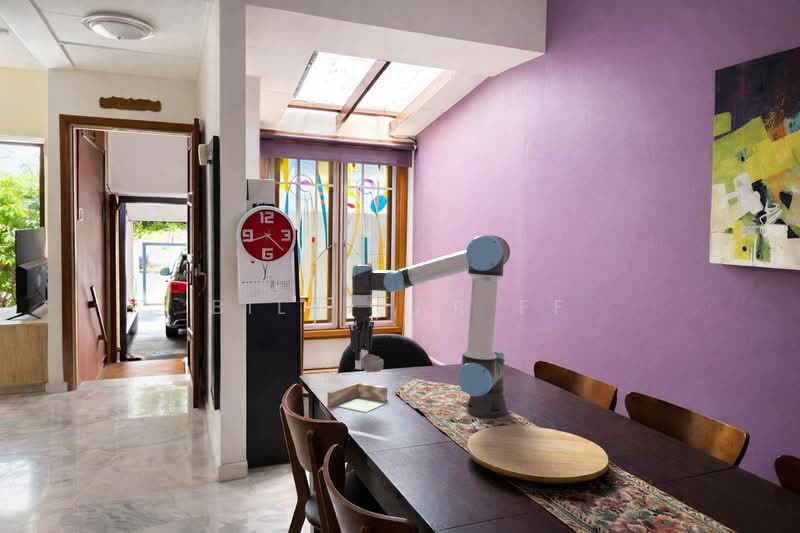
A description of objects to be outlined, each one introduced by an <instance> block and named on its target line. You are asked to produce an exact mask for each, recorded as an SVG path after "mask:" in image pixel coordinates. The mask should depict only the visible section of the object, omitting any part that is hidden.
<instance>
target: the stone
mask: <svg viewBox="0 0 800 533" xmlns="http://www.w3.org/2000/svg"><path fill="white" fill-rule="evenodd" d="M362 360H363V363H362V369H363V371H365V373H377V372H378V373H379V372H381V371H383V369H384V363H385V361H384V359H382V358H380V356H378V355H377V356H376V355H374V354H371V353H368V354H366V355H365V356H363V358H362Z"/></svg>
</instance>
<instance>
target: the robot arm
mask: <svg viewBox="0 0 800 533" xmlns="http://www.w3.org/2000/svg"><path fill="white" fill-rule="evenodd" d="M510 256H511V249H510V246H509V244H508V242H507V241H506V240H505V239H504V238H502V237H500V236H497V235H491V234H482V235H477V236H476V237H474V238H472V239H471V241H469V243H468V245H467V246H466V250H462V251H458V252H455V253H452V254H449V255H444V256H441V257H438V258H435V259H431V260H428V261H425V262H420V263H418V264H415V265H410V266H407V267H403V268H400V269H394V270H393V269H391V270H375V269H374V270H373V266H372V265H371V264H355V265H353V267H352V270H351V271H352V273H351V280H352V281H351V282H352V284H351V285H352V286H351V287H352V288H351V290H352V292H351V294H352V295H351V305H352V307H351V316H352V317H353V318H354V320H353V323H351V324H349V325H348V328H349V333H350V334H349V335H350V351H352V352H354V363H355V364H354V365H355V366H354V369H355V370H363V368H362V363H363V360H362V358H363V356H365V355H366V354H369V351H371V350H372V348H373V338H374V336H373V335H374V325H375V322H374V321H373V320H371V319H370V318H371V317H372V316H373V307H372V304H373V292H375V291H379V292H390V293H392V292H400V291H401V290H404V289H408V288H410V287H413V286H417V285H421V284H424V283H428V282H431V281H436V280H438V279H442V278H446V277H450V276H453V275H458V274H461V273H465V272H468V273H467V274H468V275H469V277H470V278H471V280H472V281H471V290H470V291H471V292H470V304H469V305H470V306H469V320H468V332H467V333H468V334H467V345H466V346H467V347H466V349H465V350H463V352H462V354H461V366H460V367H459V370H458V371H457V375H456V380H457V385H458V386H459V388H460V389H461V390H462V391H463V392H464V393H466V394H467V395H469V397H468V401H467V403H466V413H467V414H469V415H470V416H473V417H476V418H482V419H500V418H503V417H505V416H508V414H509V405H508V403H507V402H508V401H507V399H506V396H505V395H506V394H505V391H504V390H505V362H506V360H505V354H504V352H503V351H501V350H500V351H499V350H494V336H495V326H496V325H495V321H496V310H497V298H498V297H497V296H498V294H497V293H498V282H499V281H500V280H501V279H502V278H503V276H504V268H505V267H504V266H505V264H506V263H508V261H509V259H510Z"/></svg>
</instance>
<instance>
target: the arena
mask: <svg viewBox="0 0 800 533" xmlns="http://www.w3.org/2000/svg"><path fill="white" fill-rule="evenodd" d="M356 397H361V398H367V399H371V400H377V401H378V400H379V401H382V402H385V401H387V400H388V387H387V386H383V385H377V384H376V385H375V384H372V383H371V384H370V383H365V382H352V383H349V384H347V385H344V386H341V387H339V388H336V389H333V390H330V391H328V392H327V406H330V407H333V406H335V405H338V404H341V403H343V402H346V401H349V400H351V399H353V398H356Z"/></svg>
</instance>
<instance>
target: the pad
mask: <svg viewBox="0 0 800 533" xmlns="http://www.w3.org/2000/svg"><path fill="white" fill-rule="evenodd" d="M384 405H385V403H381V402H377V401H372V400H371V401H370V400H366V399H361V398H355V399H352V400H350V401H349V400H348V401H347V402H344V403H342V404H339V405H337V408H341V409H345V410H346V409H347V410H351V411H357V412H361V413H367V414H368V413H369V412H371V411H373V410H376V409H378V408H380V407H381V406H384Z"/></svg>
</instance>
